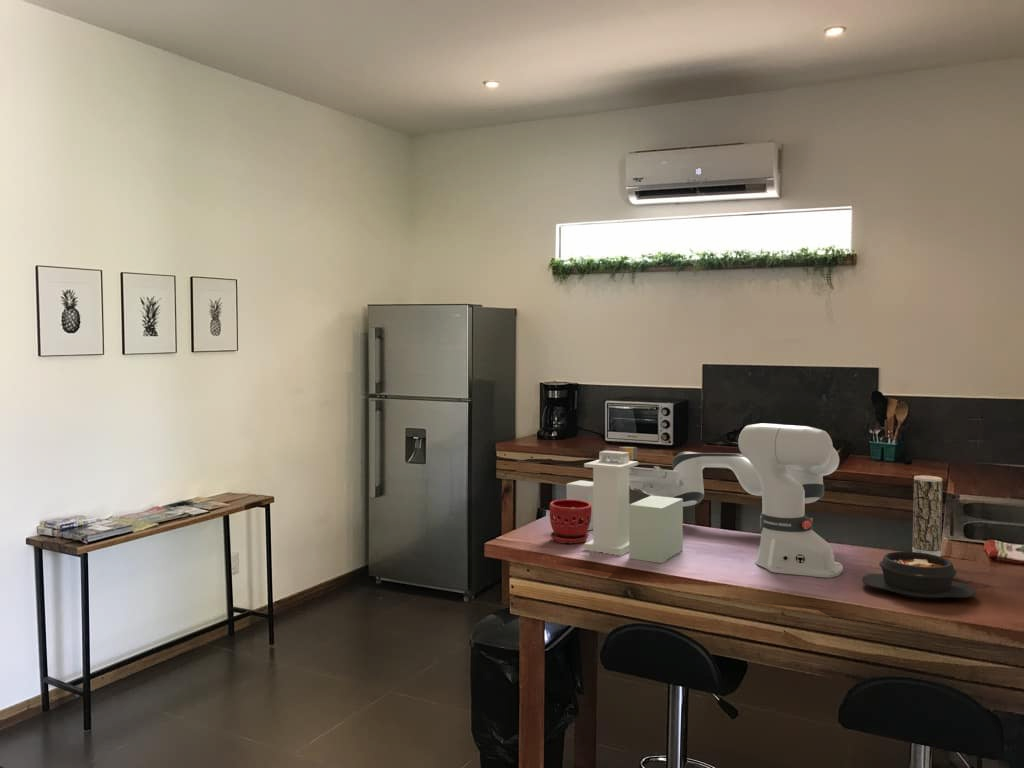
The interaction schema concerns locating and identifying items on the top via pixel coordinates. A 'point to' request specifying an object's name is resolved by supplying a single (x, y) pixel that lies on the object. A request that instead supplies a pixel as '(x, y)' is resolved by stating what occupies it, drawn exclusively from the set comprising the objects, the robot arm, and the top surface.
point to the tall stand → (610, 503)
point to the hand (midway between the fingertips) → (642, 467)
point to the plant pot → (570, 520)
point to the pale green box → (655, 528)
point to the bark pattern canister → (927, 515)
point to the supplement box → (581, 494)
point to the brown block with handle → (631, 451)
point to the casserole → (918, 576)
